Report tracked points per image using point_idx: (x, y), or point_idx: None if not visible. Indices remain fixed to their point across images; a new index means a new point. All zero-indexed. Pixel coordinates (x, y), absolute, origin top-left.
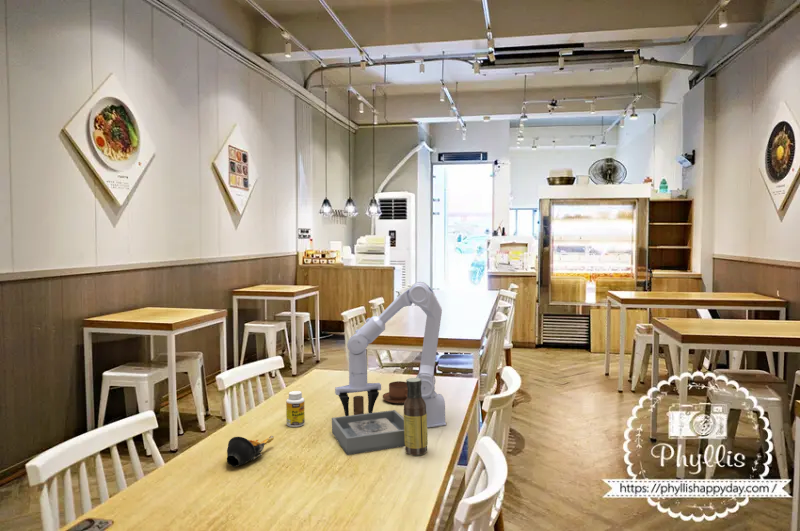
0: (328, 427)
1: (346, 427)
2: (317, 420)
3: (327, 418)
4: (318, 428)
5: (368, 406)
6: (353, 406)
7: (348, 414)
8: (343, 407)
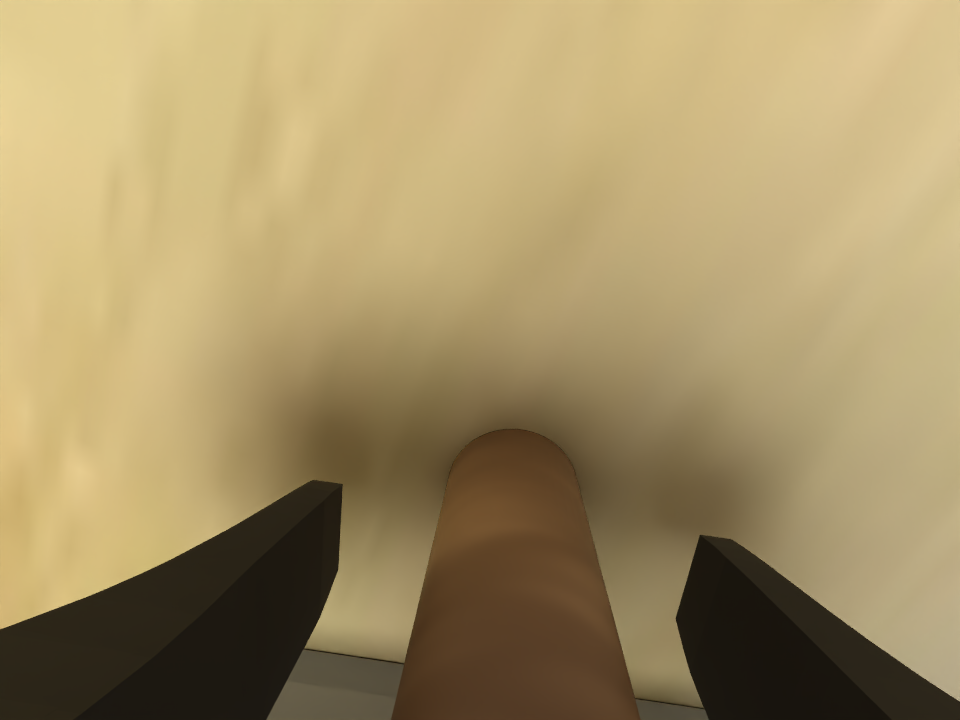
0: (126, 471)
1: None
2: (15, 145)
3: (166, 129)
4: (10, 445)
5: (751, 608)
6: (410, 640)
7: (318, 606)
8: (218, 543)
